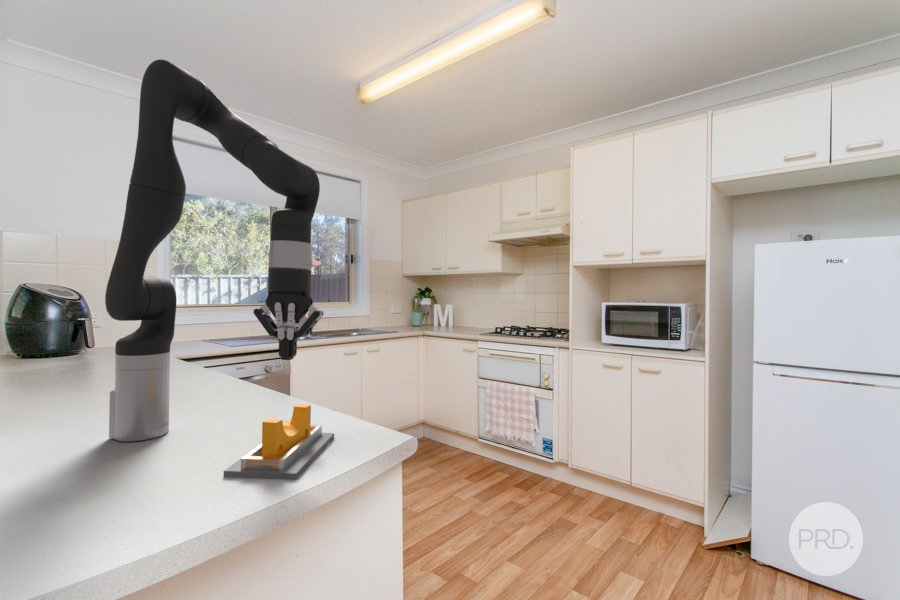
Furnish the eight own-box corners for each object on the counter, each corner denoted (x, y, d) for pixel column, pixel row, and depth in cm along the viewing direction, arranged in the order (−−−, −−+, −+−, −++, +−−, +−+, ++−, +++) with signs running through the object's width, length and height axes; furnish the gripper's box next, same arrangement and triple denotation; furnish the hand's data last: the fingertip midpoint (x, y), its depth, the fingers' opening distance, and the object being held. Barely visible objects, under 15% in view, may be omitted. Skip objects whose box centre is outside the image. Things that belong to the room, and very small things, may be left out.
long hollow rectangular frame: (240, 469, 68) (240, 458, 68) (287, 432, 87) (287, 424, 87) (283, 470, 68) (283, 460, 68) (321, 433, 86) (321, 425, 86)
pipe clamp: (290, 435, 83) (290, 403, 83) (310, 437, 82) (310, 404, 82) (252, 458, 71) (253, 421, 71) (275, 460, 70) (276, 422, 70)
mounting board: (223, 477, 68) (223, 470, 68) (278, 435, 88) (278, 431, 88) (295, 479, 67) (295, 473, 67) (334, 437, 87) (334, 433, 87)
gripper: (244, 264, 73) (242, 361, 74) (318, 266, 73) (315, 364, 73) (265, 267, 81) (262, 355, 81) (331, 269, 81) (328, 357, 81)
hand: (287, 359), depth 77 cm, fingers closed
